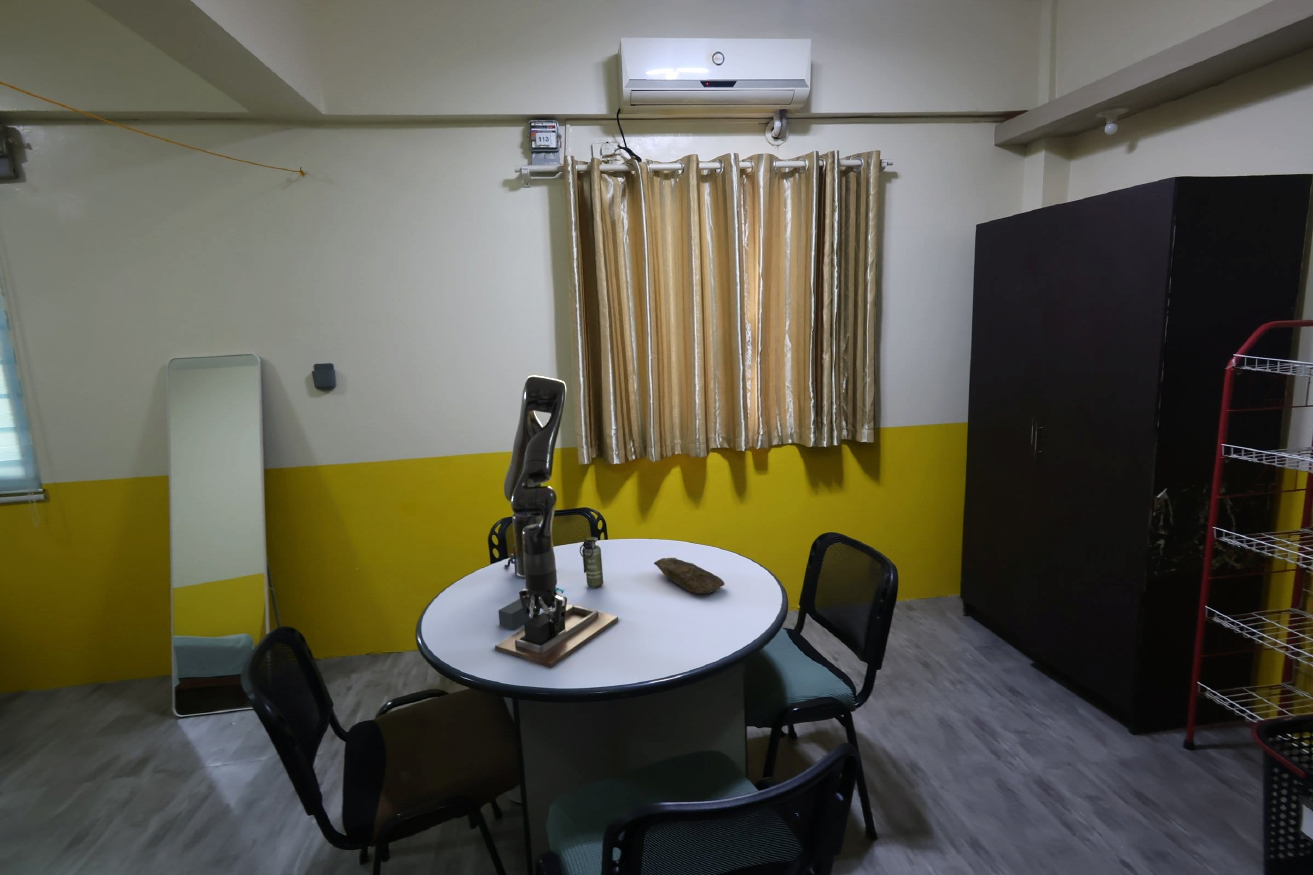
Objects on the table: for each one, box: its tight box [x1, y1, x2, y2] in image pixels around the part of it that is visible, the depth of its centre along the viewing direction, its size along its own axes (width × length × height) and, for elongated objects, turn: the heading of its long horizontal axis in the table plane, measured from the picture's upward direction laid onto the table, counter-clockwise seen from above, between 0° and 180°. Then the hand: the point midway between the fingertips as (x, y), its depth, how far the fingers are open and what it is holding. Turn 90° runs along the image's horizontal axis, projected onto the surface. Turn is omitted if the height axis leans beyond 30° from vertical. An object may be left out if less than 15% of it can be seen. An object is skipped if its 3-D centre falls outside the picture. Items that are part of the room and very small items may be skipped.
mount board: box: [494, 603, 619, 669], centre depth 154 cm, size 18×26×3 cm
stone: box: [653, 557, 726, 594], centre depth 183 cm, size 11×27×6 cm, turn 34°
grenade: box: [579, 536, 604, 589], centre depth 182 cm, size 6×6×15 cm
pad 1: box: [497, 598, 531, 631], centre depth 163 cm, size 5×9×4 cm, turn 148°
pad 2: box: [523, 608, 566, 645], centre depth 150 cm, size 5×9×4 cm, turn 148°
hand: (545, 633), depth 150 cm, fingers closed on pad 2, 5 cm apart
